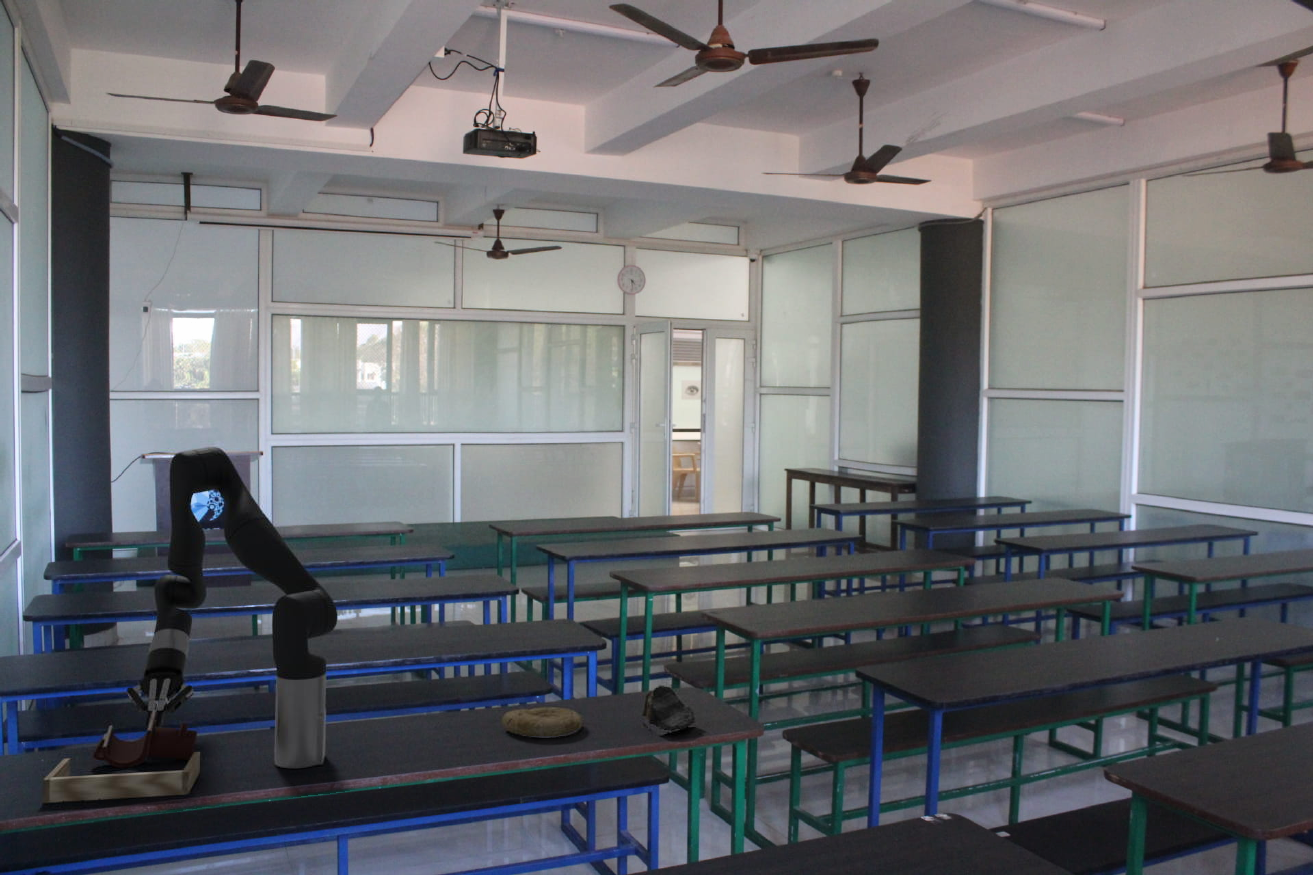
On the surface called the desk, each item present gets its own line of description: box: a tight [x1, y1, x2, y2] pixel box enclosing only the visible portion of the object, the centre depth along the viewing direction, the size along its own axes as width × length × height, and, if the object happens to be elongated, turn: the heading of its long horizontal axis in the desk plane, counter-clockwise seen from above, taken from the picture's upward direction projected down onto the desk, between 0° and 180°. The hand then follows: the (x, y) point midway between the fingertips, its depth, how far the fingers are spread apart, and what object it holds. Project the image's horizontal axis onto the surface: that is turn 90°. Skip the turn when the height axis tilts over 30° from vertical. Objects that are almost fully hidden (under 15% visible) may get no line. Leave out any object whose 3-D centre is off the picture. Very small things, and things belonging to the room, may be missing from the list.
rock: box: [641, 685, 696, 731], centre depth 225 cm, size 14×11×10 cm
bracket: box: [92, 710, 198, 769], centre depth 194 cm, size 6×17×10 cm, turn 113°
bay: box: [42, 751, 201, 804], centre depth 181 cm, size 23×11×4 cm, turn 104°
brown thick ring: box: [501, 706, 584, 736], centre depth 221 cm, size 17×15×5 cm
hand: (152, 730), depth 201 cm, fingers closed
